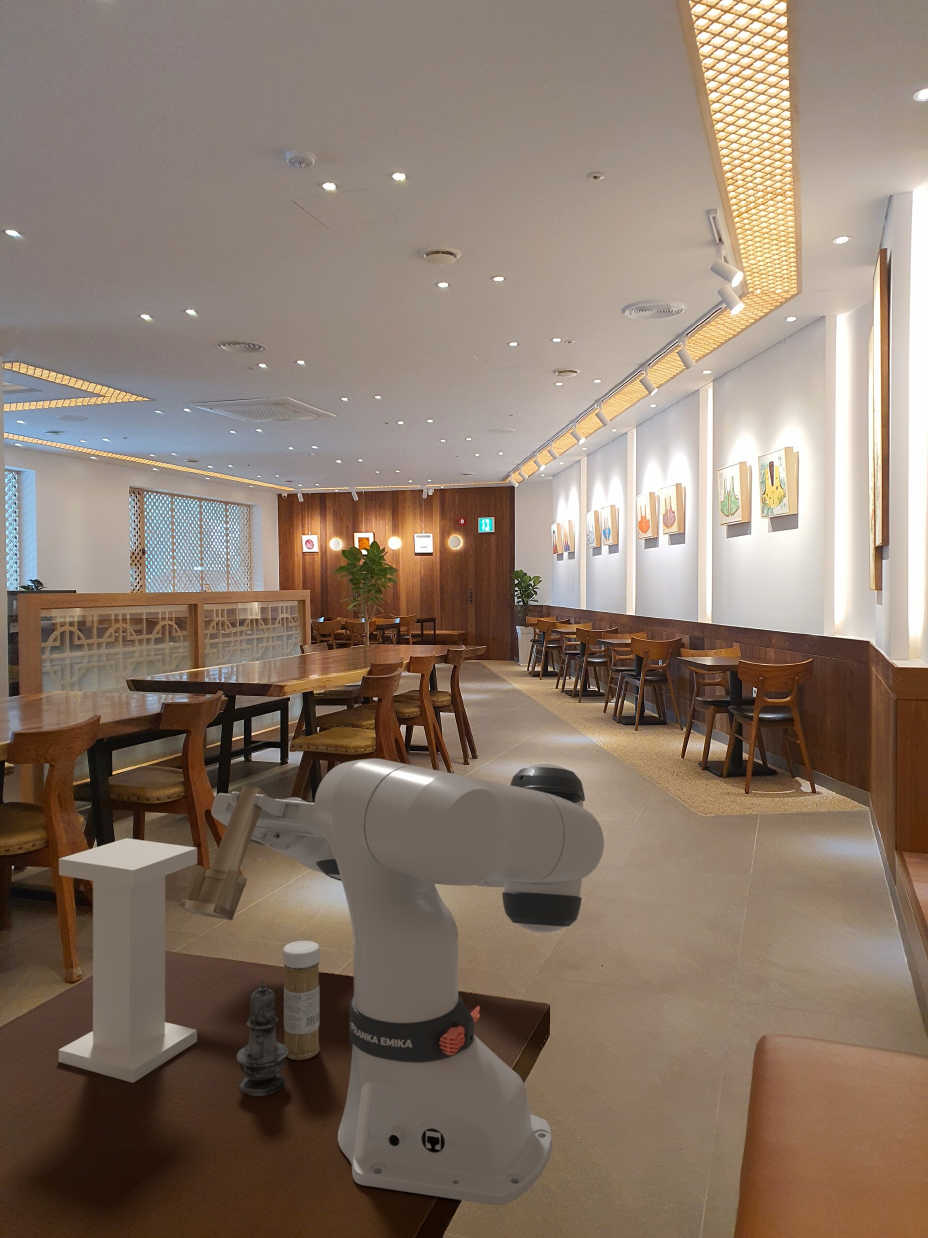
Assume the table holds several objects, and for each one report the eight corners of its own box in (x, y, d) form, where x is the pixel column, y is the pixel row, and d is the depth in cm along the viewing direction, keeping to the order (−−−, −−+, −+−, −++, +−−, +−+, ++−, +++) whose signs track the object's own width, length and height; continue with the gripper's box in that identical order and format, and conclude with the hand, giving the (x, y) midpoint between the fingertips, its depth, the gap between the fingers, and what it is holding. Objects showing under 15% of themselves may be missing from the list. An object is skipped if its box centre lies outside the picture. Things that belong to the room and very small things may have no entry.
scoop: (278, 795, 133) (266, 786, 131) (232, 920, 124) (218, 912, 121) (240, 791, 136) (228, 782, 134) (193, 913, 126) (179, 906, 124)
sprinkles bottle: (308, 1040, 113) (308, 936, 113) (326, 1054, 110) (326, 947, 110) (276, 1051, 110) (276, 945, 110) (293, 1066, 107) (294, 956, 107)
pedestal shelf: (196, 1041, 113) (197, 847, 113) (133, 1083, 103) (133, 870, 103) (126, 1024, 118) (126, 838, 118) (58, 1062, 108) (58, 858, 108)
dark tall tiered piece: (275, 1100, 99) (275, 994, 99) (227, 1094, 100) (227, 989, 100) (295, 1074, 105) (296, 974, 105) (250, 1069, 106) (250, 969, 106)
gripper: (341, 853, 137) (297, 825, 126) (236, 839, 145) (186, 812, 134) (352, 814, 140) (309, 783, 129) (248, 802, 148) (200, 773, 137)
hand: (245, 798), depth 132 cm, fingers closed on scoop, 3 cm apart
